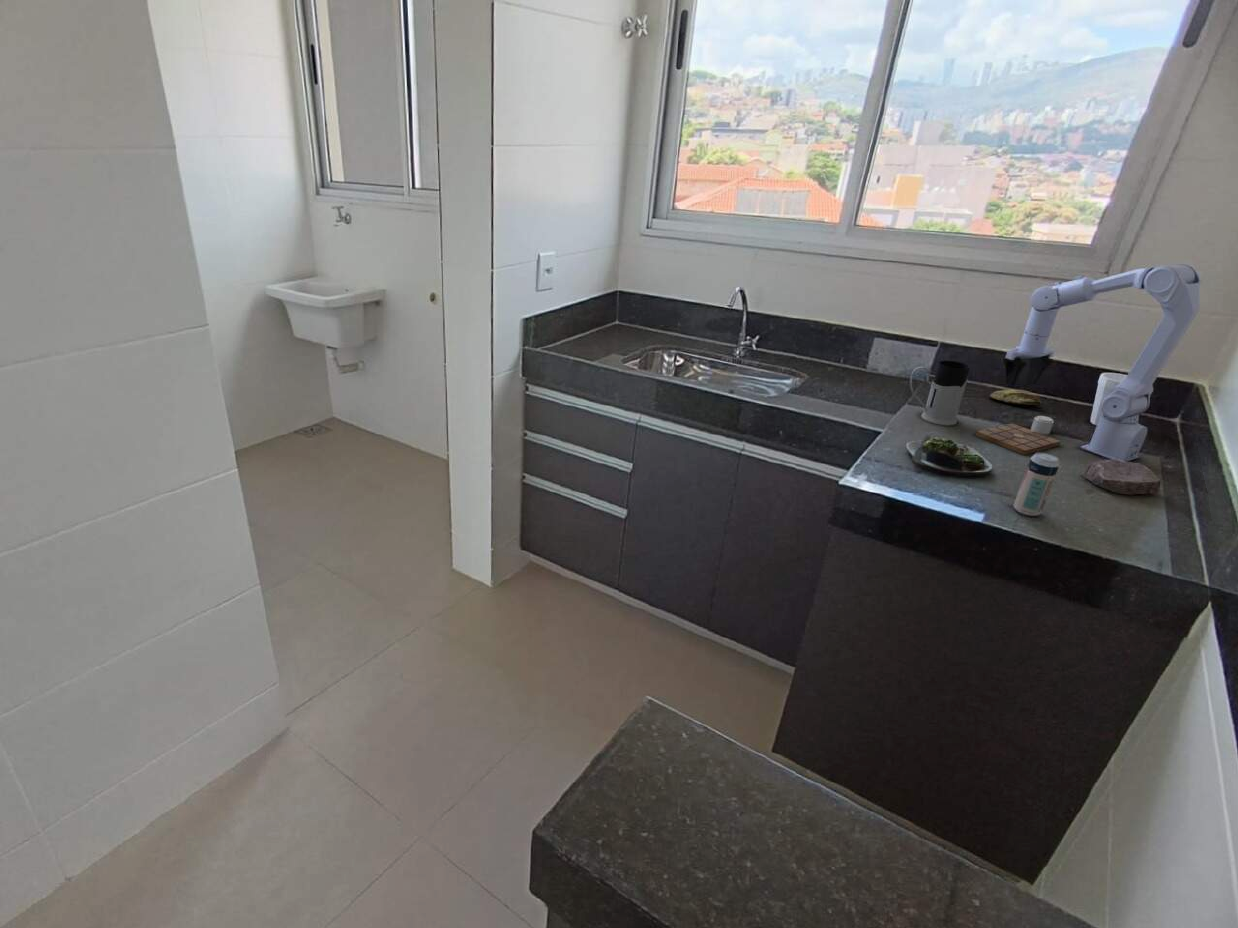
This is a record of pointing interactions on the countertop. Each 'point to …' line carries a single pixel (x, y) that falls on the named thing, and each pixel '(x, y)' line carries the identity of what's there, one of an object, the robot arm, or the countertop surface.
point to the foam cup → (1104, 392)
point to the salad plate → (948, 458)
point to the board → (1018, 438)
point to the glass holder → (944, 392)
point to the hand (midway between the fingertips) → (1020, 384)
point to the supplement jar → (1036, 484)
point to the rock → (1016, 397)
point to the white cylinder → (1042, 425)
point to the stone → (1123, 477)
